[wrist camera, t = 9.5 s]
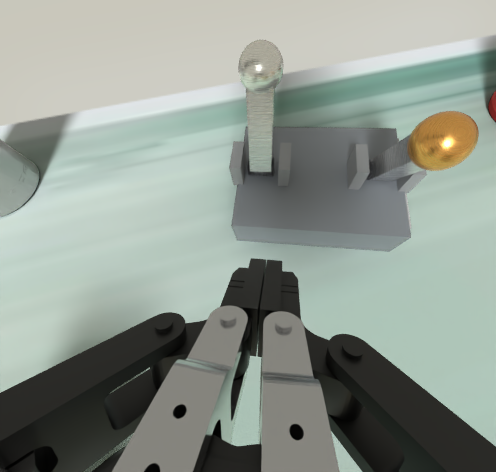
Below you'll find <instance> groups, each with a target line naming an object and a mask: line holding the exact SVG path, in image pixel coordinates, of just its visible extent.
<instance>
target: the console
mask: <svg viewBox="0 0 496 472" xmlns="http://www.w3.org/2000/svg"><path fill="white" fill-rule="evenodd" d="M398 142H399V138H397V132H396V129H390V128H315V127H273V157H274V175H273V176H250V175H248V159H249V140H248V127H246V130H245V137H244V142H234V143H233V149H232V155H231V161H230V167H229V169H230V172H231V176H232V180H233V184H234V185H237V191H236V198H235V205H234V212H233V219H232V225H231V226H232V228H233V231H234V233H235V236H236V239H237V240H240V241H254V242H268V243H281V244H295V245H308V246H322V247H336V248H349V249H363V250H376V251H391V250H392V249H394V248H396V247H397V246H399V245H400V244H402V243H403V242H405V241H406V240H408V239H409V238H411V233H410V229H411V222H410V215H409V207H408V200H407V193H409V192H410V191H411V190H412V189H413V188H414V187H415V186H416V185H417V184H418V183H419V182H420V181H421V180H422V179H423V178H424V177H425V176H426V175H427V174H426V170H422V171H419V172H417V173H414V174H411V175H408V176H405V177H402V178H399V179H396V180H395V181H378V180H366V178H367V176H368V175H369V173H370V170H369V160H372V159H373V158H375V157H376V156H378V155H380V154H381V153H383V152H384V151H386V150H387V149H389V148H390V147H392V146H393V145H395V144H396V143H398Z"/></svg>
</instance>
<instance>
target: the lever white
mask: <svg viewBox="0 0 496 472" xmlns="http://www.w3.org/2000/svg"><path fill="white" fill-rule="evenodd" d="M238 69H239V76H240V80H241V82H242V84H243V85H244V87H245V88H246V100H247V120H248V140H249V159H248V175H250V176H273V175H274V157H273V127H274V97H275V88H276V86H277V85H278V84H279V82H280V80H281V77H282V74H283V59H282V56H281V53H280V51H279V50H278V48H277V47H276V46H275V45H274V44H273V43H271V42H269V41H266V40H257V41H254V42H252V43H250V44H249V45H248V46H247V47H246V48H245V50H244V51H243V52H242V55H241V57H240V60H239V67H238Z"/></svg>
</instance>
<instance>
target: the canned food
mask: <svg viewBox="0 0 496 472" xmlns="http://www.w3.org/2000/svg"><path fill="white" fill-rule="evenodd" d="M488 108H489V112H490V114H491V116H492V118H493V119H494V120H495V122H496V91H495V92H494V94H493V96H492V97H491V99H490V102H489V106H488Z"/></svg>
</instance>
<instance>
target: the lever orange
mask: <svg viewBox="0 0 496 472" xmlns="http://www.w3.org/2000/svg"><path fill="white" fill-rule="evenodd" d="M477 141H478V127H477V125H476V123H475V122H474V120H473V119H472V118H471V117H469V116H468V115H466V114H464V113H461V112H456V111H446V112H440V113H437V114H434V115H432V116H430V117H428V118H426V119H425V120H423V121H422V122H421V123H419V124H418V125H417V126H416V128H415V129H414V130H413V131H412V133H411V134H410V135H409V136H407V137H406V138H404V139H403V140H401V141H400V142H398V143H396V144H395V145H393V146H392V147H390V148H389V149H387V150H386V151H384V152H383V153H381V154H380V155H378V156H376V157H375V158H373V159H372V160H369V170H370V173H369V175H368V176H367V178H366V180H378V181H395V180H396V179H399V178H402V177H405V176H408V175H411V174H414V173H417V172H419V171H422V170H430V171H439V170H445V169H448V168H451V167H453V166H456V165H457V164H459V163H461V162H462V161H464V160H465V159H466V158H467V157H468V156H469V155H470V154H471V153H472V151H473V150H474V148H475V146H476V144H477Z"/></svg>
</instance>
